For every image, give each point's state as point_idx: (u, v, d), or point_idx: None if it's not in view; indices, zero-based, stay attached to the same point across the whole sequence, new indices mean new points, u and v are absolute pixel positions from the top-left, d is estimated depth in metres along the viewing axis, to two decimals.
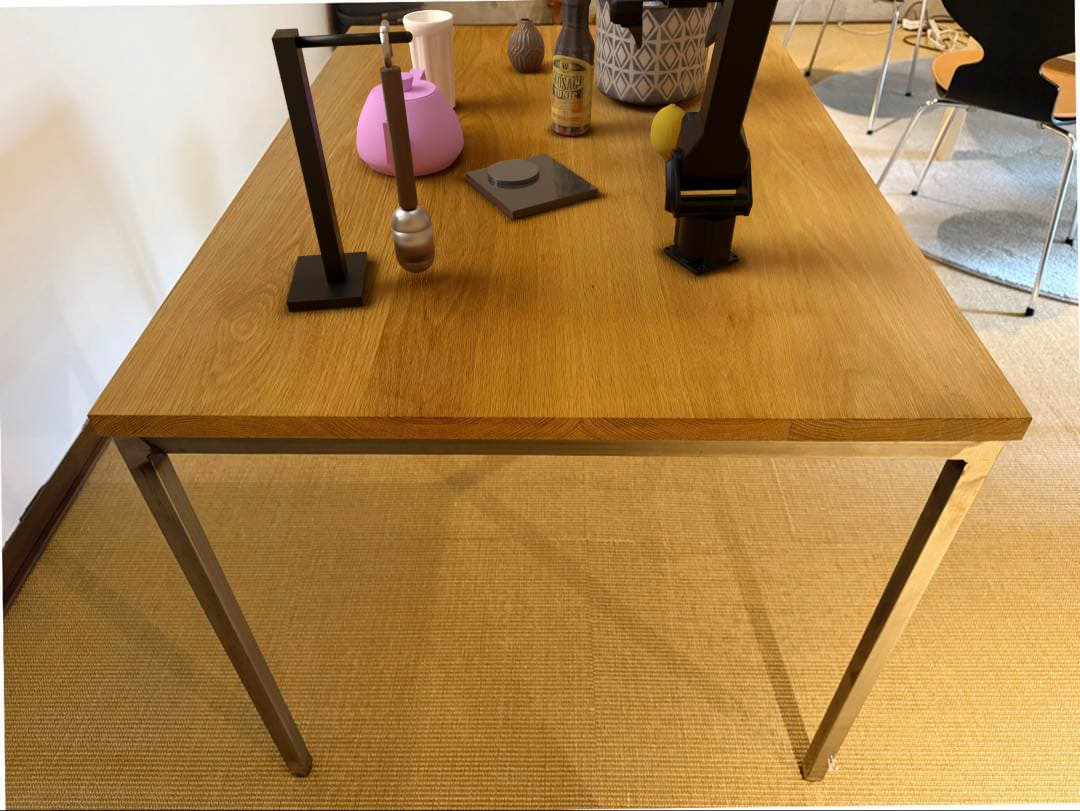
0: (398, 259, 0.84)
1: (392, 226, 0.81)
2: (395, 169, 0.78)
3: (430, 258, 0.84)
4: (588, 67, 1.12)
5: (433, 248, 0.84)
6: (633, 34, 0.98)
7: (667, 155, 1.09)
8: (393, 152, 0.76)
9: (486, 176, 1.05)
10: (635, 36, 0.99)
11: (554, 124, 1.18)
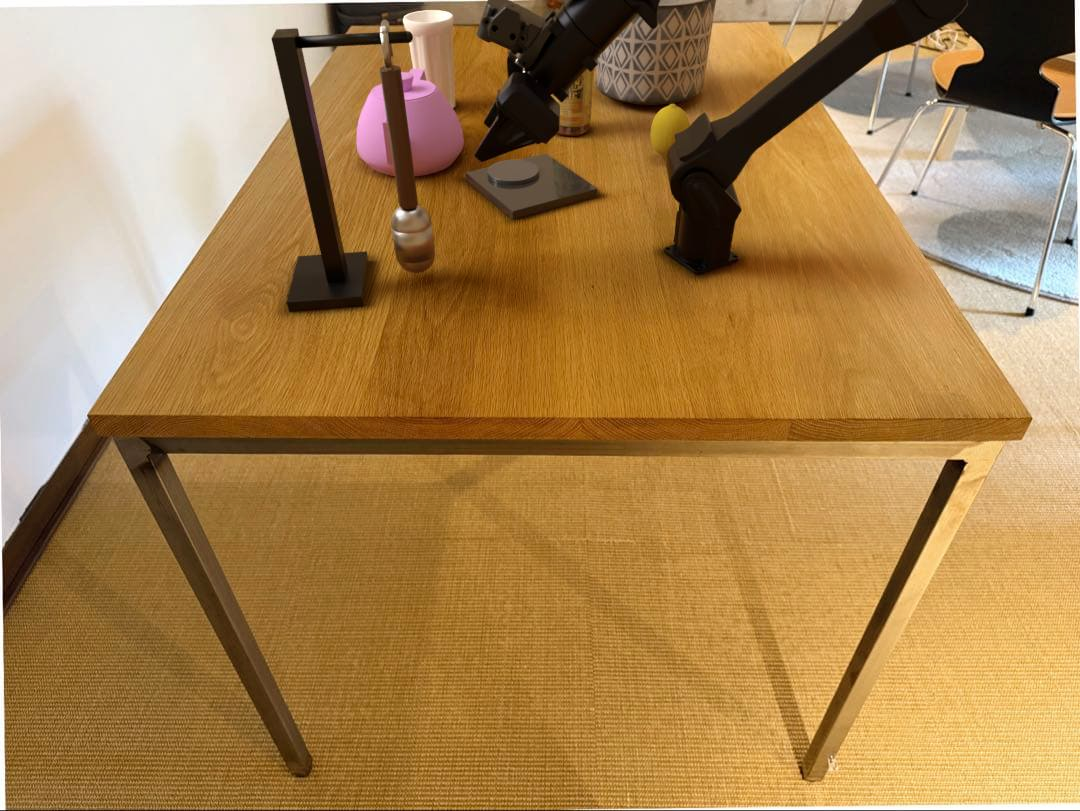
0: (398, 259, 0.84)
1: (392, 226, 0.81)
2: (395, 169, 0.78)
3: (430, 258, 0.84)
4: None
5: (433, 248, 0.84)
6: None
7: None
8: (393, 152, 0.76)
9: (486, 176, 1.05)
10: (517, 148, 0.76)
11: None
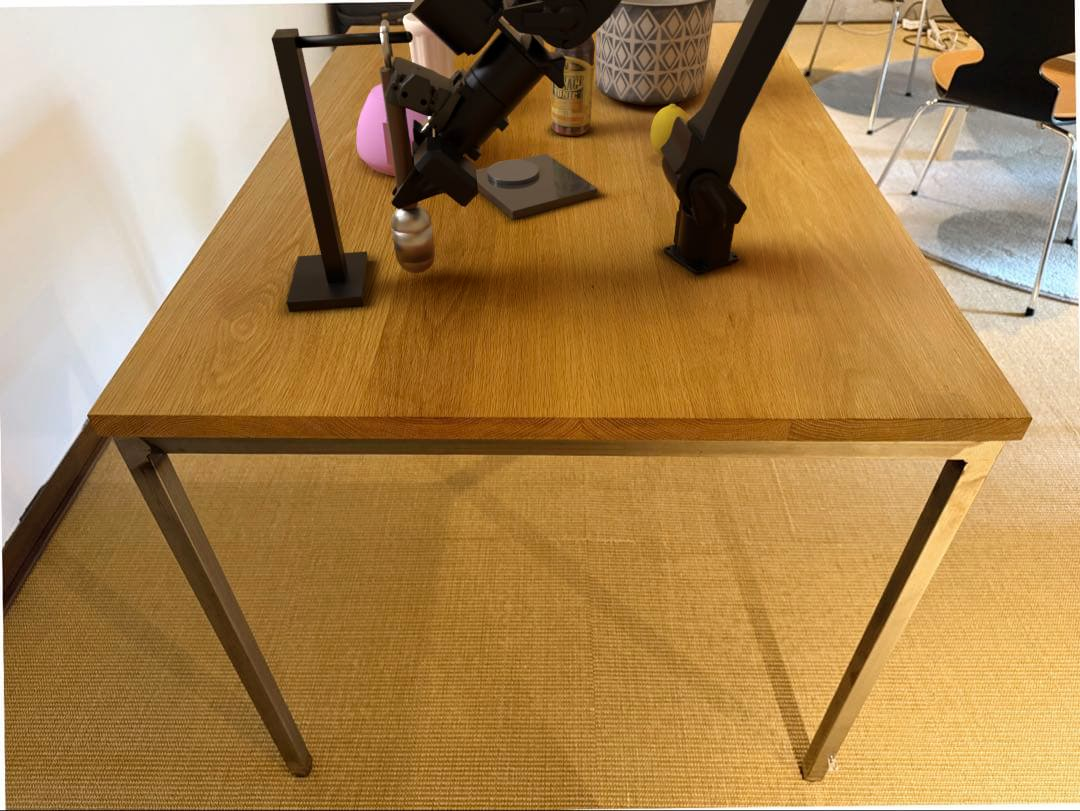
0: (398, 259, 0.84)
1: (392, 226, 0.81)
2: (395, 169, 0.78)
3: (430, 258, 0.84)
4: (588, 67, 1.12)
5: (433, 248, 0.84)
6: None
7: None
8: (393, 152, 0.76)
9: (486, 176, 1.05)
10: (434, 194, 0.78)
11: (554, 124, 1.18)
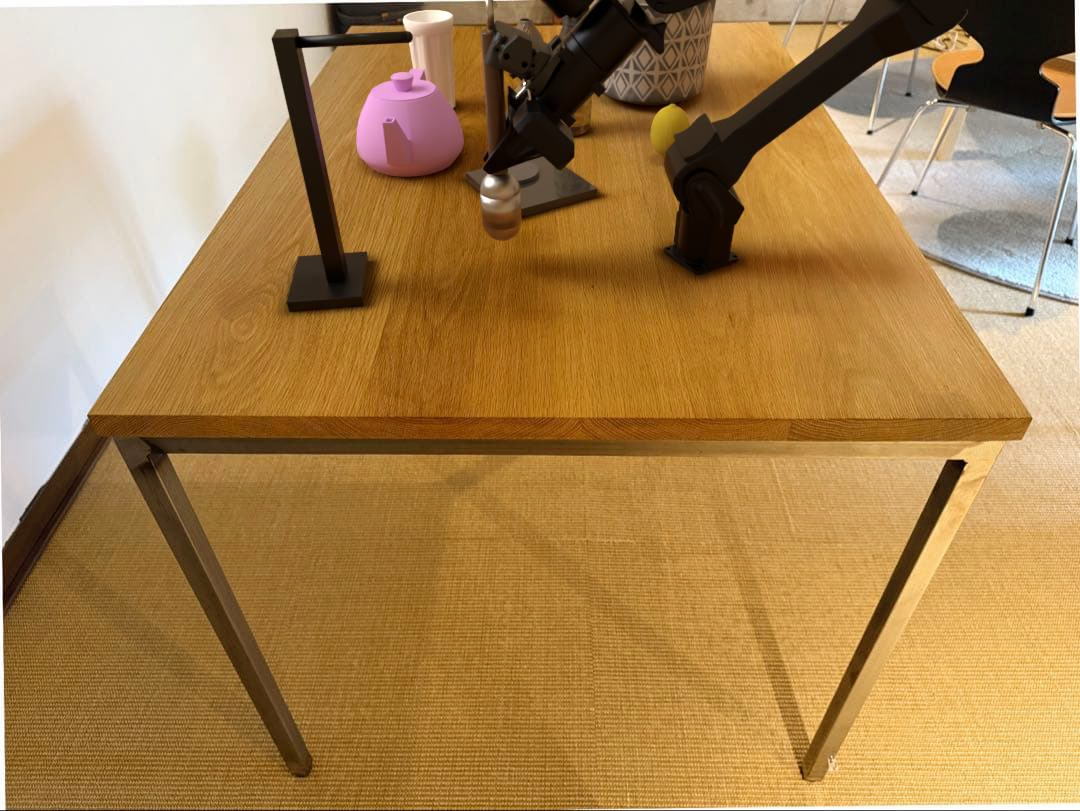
0: (485, 226, 0.84)
1: (481, 192, 0.82)
2: (489, 134, 0.78)
3: (517, 225, 0.84)
4: None
5: (520, 216, 0.84)
6: None
7: None
8: (488, 117, 0.77)
9: None
10: (526, 160, 0.78)
11: None
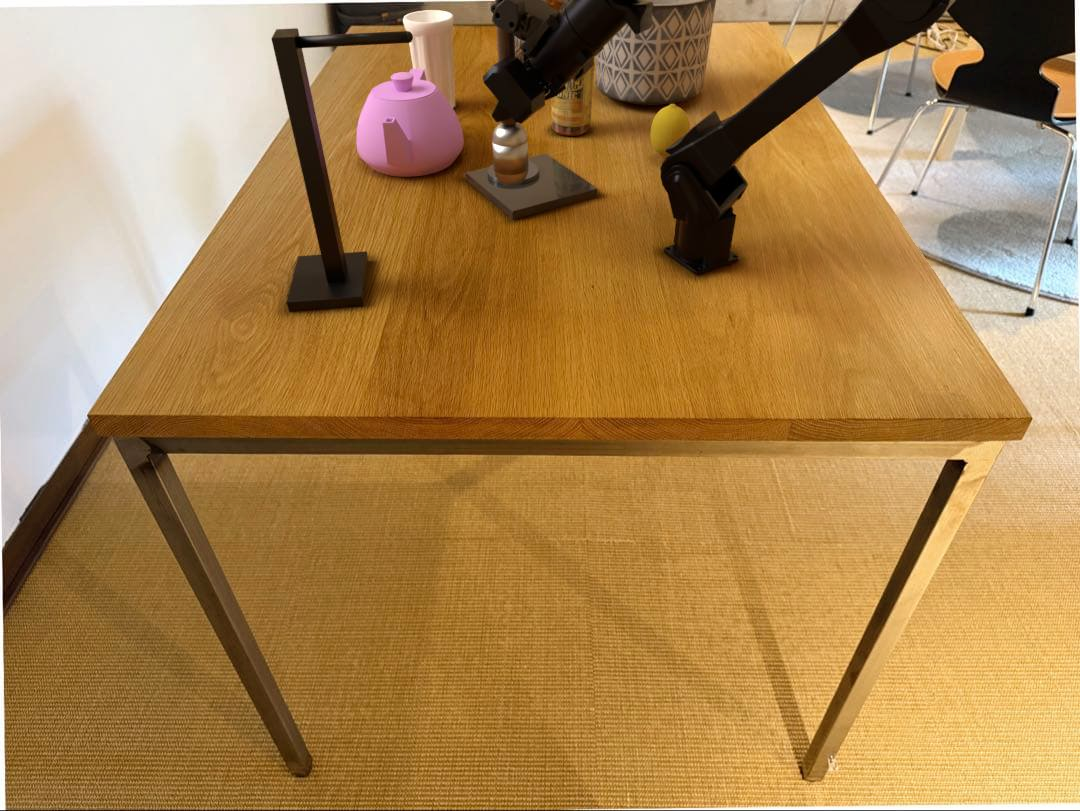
0: None
1: (492, 137, 0.93)
2: None
3: (517, 174, 0.94)
4: None
5: (523, 166, 0.94)
6: None
7: (667, 155, 1.09)
8: None
9: (486, 176, 1.05)
10: None
11: (554, 124, 1.18)
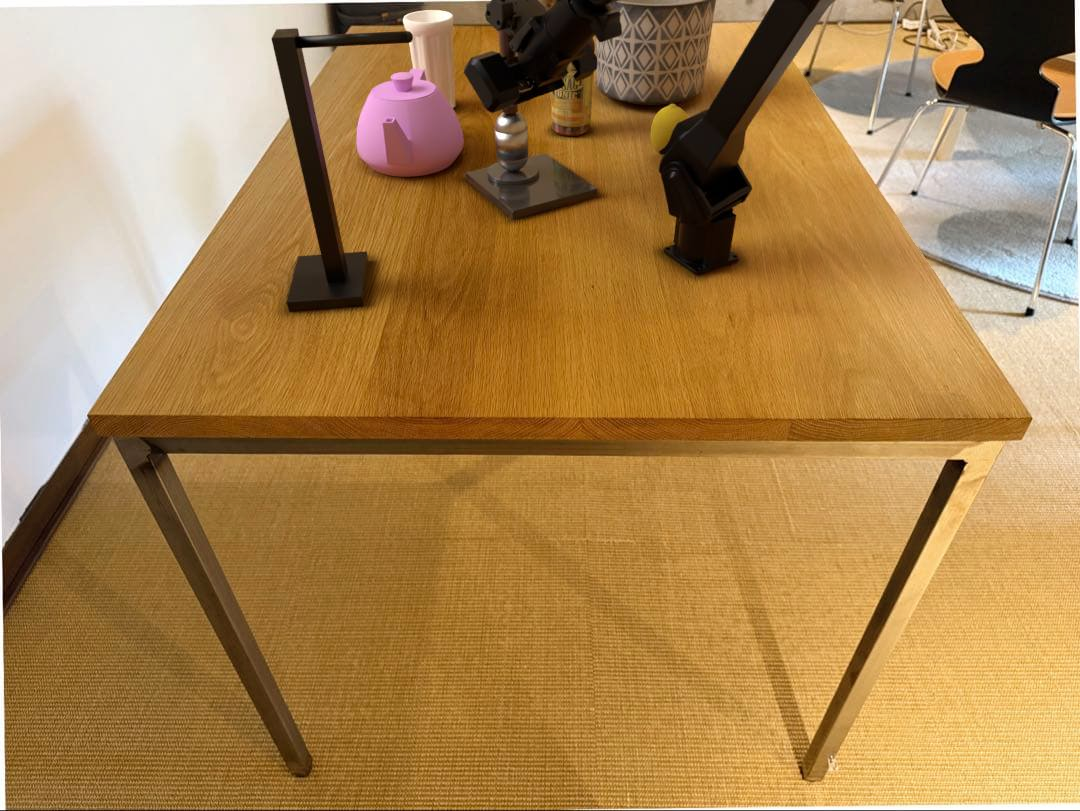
0: None
1: None
2: None
3: (513, 160, 1.02)
4: None
5: (519, 154, 1.01)
6: (514, 105, 0.95)
7: None
8: None
9: (486, 176, 1.05)
10: None
11: (554, 124, 1.18)
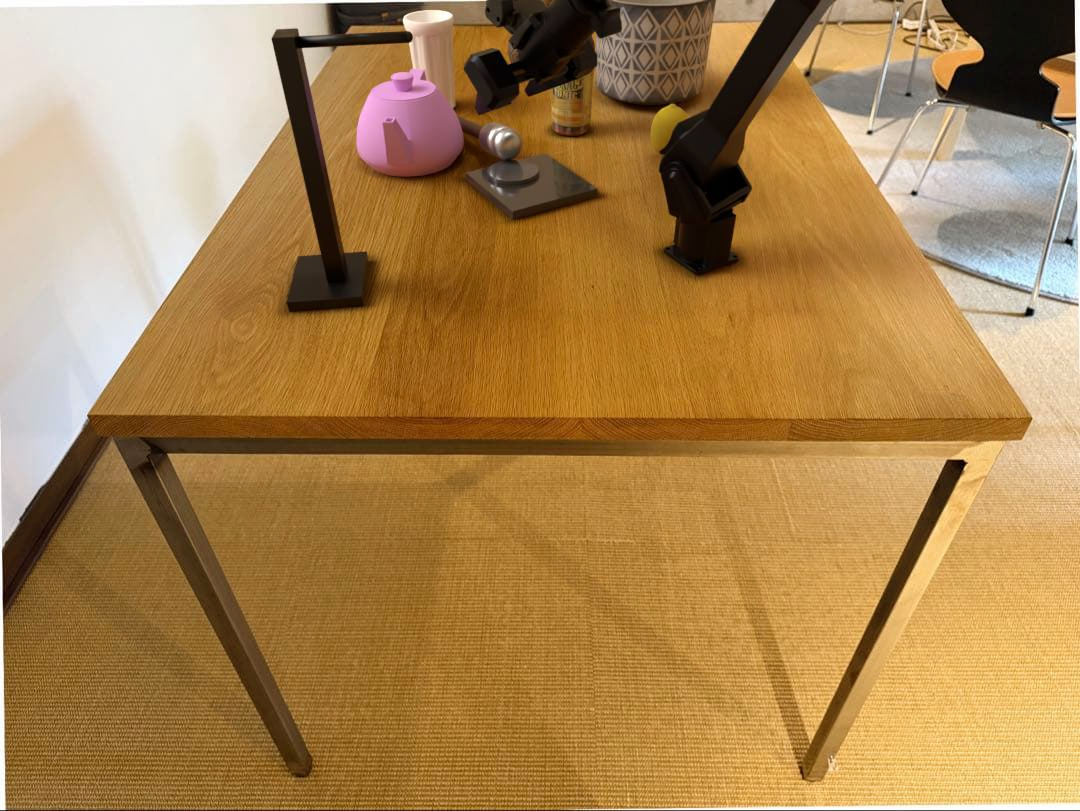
0: (493, 148, 1.06)
1: (481, 145, 1.09)
2: (467, 131, 1.13)
3: (507, 127, 1.05)
4: None
5: None
6: (494, 109, 0.93)
7: None
8: (461, 127, 1.14)
9: (486, 176, 1.05)
10: (493, 110, 0.94)
11: (554, 124, 1.18)
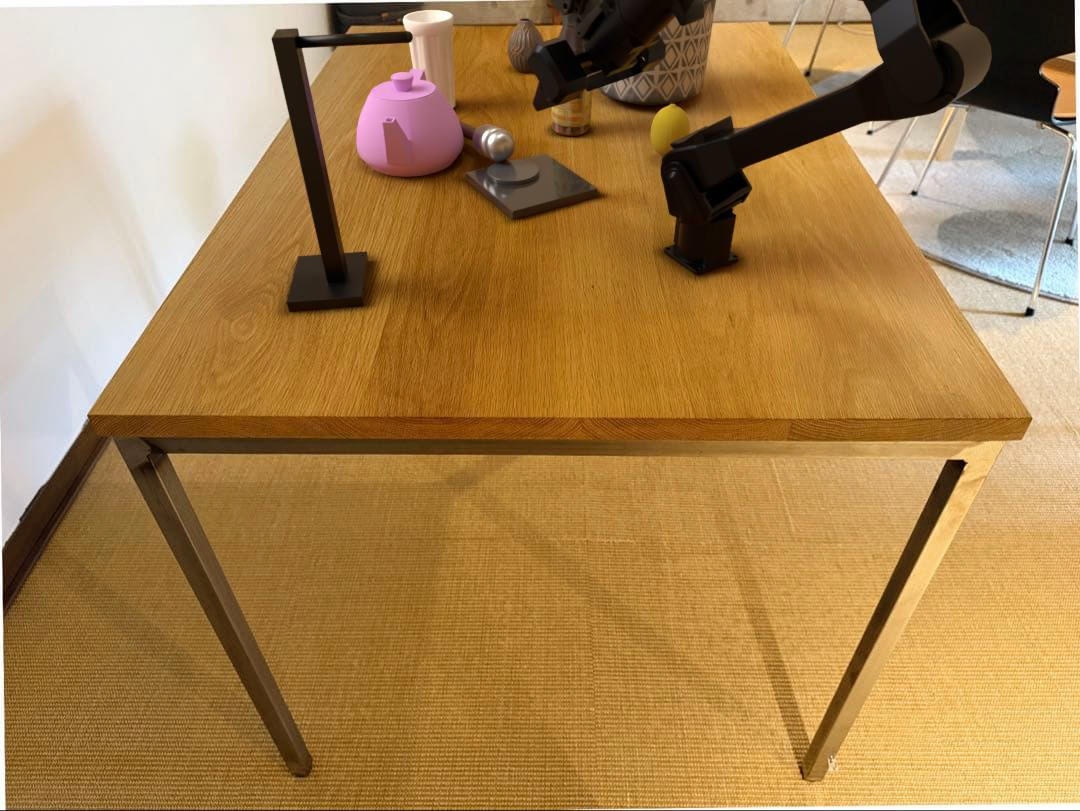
0: (489, 157, 1.06)
1: (478, 152, 1.09)
2: (464, 136, 1.13)
3: (493, 130, 1.05)
4: None
5: (496, 127, 1.05)
6: None
7: None
8: None
9: (486, 176, 1.05)
10: (555, 105, 0.86)
11: (554, 124, 1.18)
